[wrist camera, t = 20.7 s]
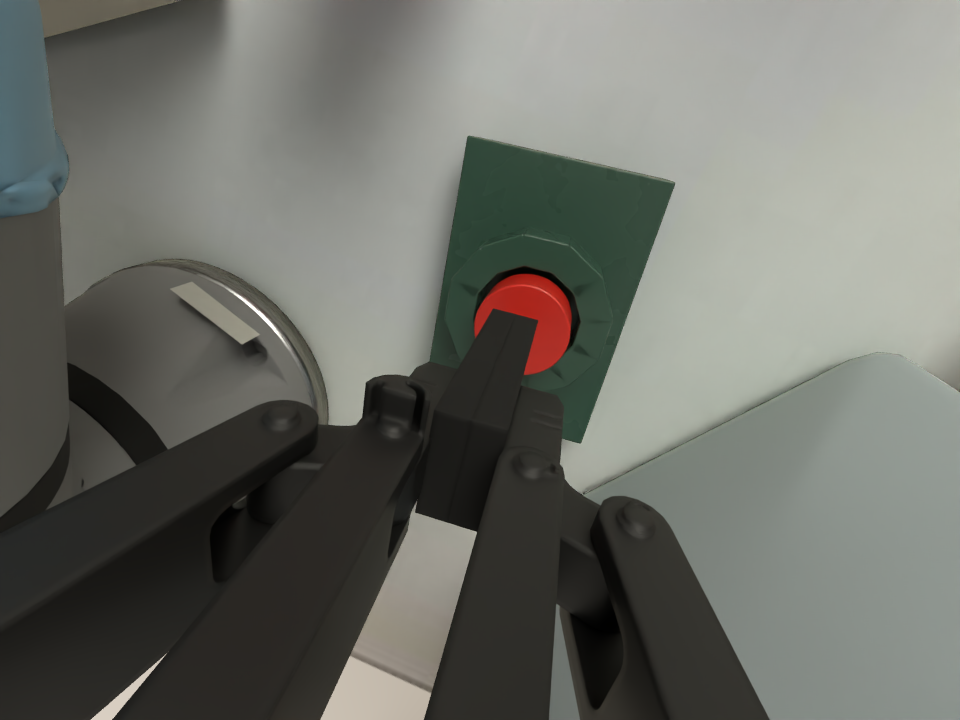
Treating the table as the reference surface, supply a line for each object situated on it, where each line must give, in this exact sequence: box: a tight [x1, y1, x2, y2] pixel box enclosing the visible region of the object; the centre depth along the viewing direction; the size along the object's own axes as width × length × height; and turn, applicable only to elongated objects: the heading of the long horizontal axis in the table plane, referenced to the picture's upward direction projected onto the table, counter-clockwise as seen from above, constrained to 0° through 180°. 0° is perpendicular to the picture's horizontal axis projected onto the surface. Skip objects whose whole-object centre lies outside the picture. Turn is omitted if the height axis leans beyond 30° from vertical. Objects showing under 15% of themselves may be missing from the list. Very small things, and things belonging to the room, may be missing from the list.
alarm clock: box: [549, 352, 960, 720], centre depth 15 cm, size 18×9×21 cm, turn 131°
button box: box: [429, 136, 675, 443], centre depth 20 cm, size 8×12×4 cm, turn 168°
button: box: [474, 274, 572, 375], centre depth 18 cm, size 4×4×2 cm
